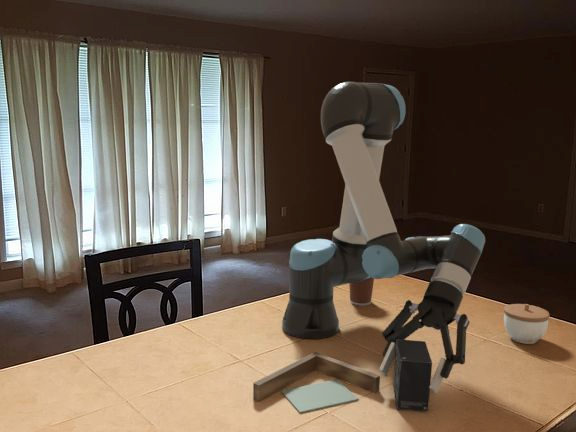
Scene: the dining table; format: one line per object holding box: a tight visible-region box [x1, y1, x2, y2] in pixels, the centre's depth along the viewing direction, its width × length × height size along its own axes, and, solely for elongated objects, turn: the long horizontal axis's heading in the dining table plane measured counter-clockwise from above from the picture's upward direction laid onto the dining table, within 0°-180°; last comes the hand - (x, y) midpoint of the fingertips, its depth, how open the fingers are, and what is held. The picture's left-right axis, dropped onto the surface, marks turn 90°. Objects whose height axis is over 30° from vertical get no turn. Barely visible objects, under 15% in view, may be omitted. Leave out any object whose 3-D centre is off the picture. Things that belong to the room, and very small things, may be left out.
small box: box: [392, 339, 433, 412], centre depth 111 cm, size 11×6×10 cm, turn 174°
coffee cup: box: [348, 277, 375, 307], centre depth 168 cm, size 9×9×12 cm
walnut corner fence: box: [252, 351, 381, 402], centre depth 113 cm, size 17×20×4 cm
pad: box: [280, 378, 359, 414], centre depth 113 cm, size 9×13×1 cm
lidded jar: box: [503, 303, 550, 345], centre depth 142 cm, size 11×11×9 cm
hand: (406, 381), depth 110 cm, fingers closed on small box, 10 cm apart
